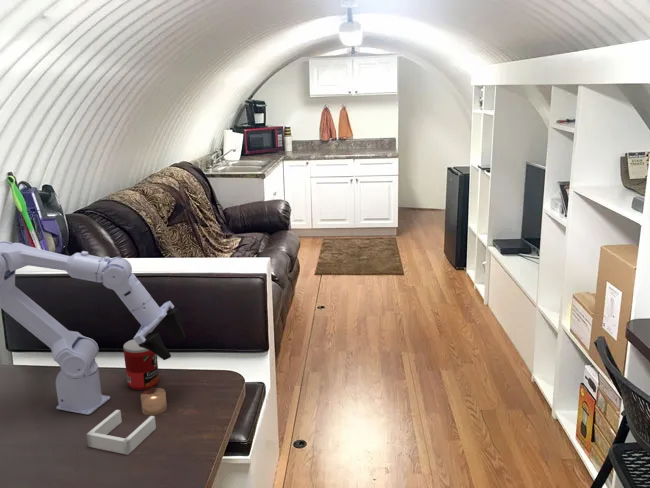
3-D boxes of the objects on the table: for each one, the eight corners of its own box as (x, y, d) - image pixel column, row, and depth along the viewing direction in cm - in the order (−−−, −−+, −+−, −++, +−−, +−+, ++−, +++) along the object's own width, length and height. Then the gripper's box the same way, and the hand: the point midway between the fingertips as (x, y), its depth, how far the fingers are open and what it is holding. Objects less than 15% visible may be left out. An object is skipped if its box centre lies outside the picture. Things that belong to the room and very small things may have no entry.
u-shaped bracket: (87, 446, 120) (86, 434, 119) (118, 421, 129) (116, 409, 129) (128, 454, 117) (126, 442, 117) (155, 428, 126) (154, 416, 126)
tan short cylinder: (137, 413, 133) (135, 398, 132) (151, 401, 138) (149, 386, 137) (158, 416, 131) (156, 401, 130) (171, 404, 136) (170, 389, 135)
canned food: (150, 391, 142) (146, 351, 139) (121, 389, 144) (116, 349, 141) (164, 377, 149) (161, 338, 147) (137, 374, 151) (132, 336, 148)
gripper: (136, 316, 124) (172, 362, 128) (168, 282, 137) (200, 325, 141) (114, 326, 127) (151, 371, 131) (147, 291, 140) (180, 333, 144)
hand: (175, 348), depth 136 cm, fingers open, 7 cm apart
